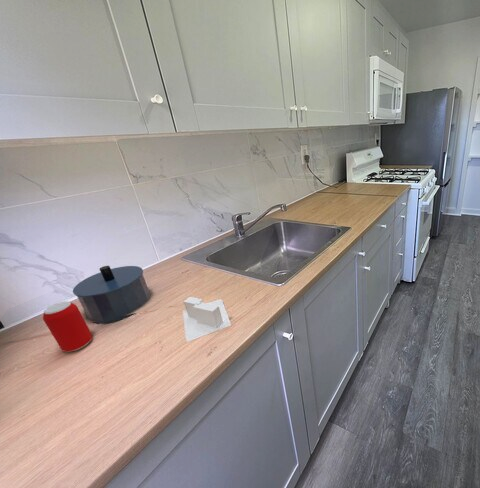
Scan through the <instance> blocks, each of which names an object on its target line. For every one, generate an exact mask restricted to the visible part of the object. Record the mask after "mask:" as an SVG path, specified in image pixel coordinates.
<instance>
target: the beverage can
mask: <svg viewBox="0 0 480 488" xmlns="http://www.w3.org/2000/svg"><path fill="white" fill-rule="evenodd" d="M42 320H43V322H44V323H45V325H46V327H47V328H48V330H49V332H50V333H51V335H52V337H53V338H54V340H55V341H56V343H57V345H58V347H59V349H60V350H61V351H62V352H68V353H69V352H74V351H78V350H80V349H82V348H84V347H86V346H87V345H88V344H89V343H90V342H91V341H92V339H93V334H92V332H91V330H90V328H89V326H88V325H87V323H86V321H85V319H84V317H83V315H82V313H81V311H80V309H79V307H78V305H76V304H75V303H73V302H71V301H61V302H57V303H53V304H52V305H50V306H48V307H46V309H45V310H44V311H43V315H42Z"/></svg>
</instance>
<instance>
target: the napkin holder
mask: <svg viewBox="0 0 480 488" xmlns="http://www.w3.org/2000/svg"><path fill="white" fill-rule="evenodd" d="M182 302H183V305H184V308H185V309H184V310H182V317H183V327H184V334H185V342H186V343H188V342H190V341H193V340H196V339H198V338H202V337H204V336H206V335H209V334H213V333H215V332H217V331H221V330H223V329H226V328H229V327H230V326H232V323H231V321H230V318H229V315H228V313H227V310H226V306H225V305H224V302H223V299H222V298H218V299H216V300H213V301H210V302H204V300H203V299H202V298H197V297H194V296H189V297H188V298H186V299H185V300H183V301H182Z"/></svg>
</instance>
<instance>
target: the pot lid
mask: <svg viewBox="0 0 480 488" xmlns="http://www.w3.org/2000/svg"><path fill="white" fill-rule="evenodd" d="M142 274H143V275H144V270H143V268H142V267H140V266H137V265H126V266H125V265H124V266H117V267H113V268H111V266H110V265H103V266H101V267H99V272H98V273H95V274H92V275H91V276H89V277H86V278H84V279H83V280H81V281H80V282H78V283H77V284H76V285H75V286H74V287H73V288H72V293H73V295H74V296H75V297H77V296H78V297H94V296H100V295H104V294H108V293H111V292H114V291H117V290H119V289H122V288H124V287H126V286H128V285H130V284H132V283H133V282H135V281H136V280H138V279H139V278H140V277H141V276H142ZM78 297H77V298H78Z"/></svg>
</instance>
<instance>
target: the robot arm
mask: <svg viewBox="0 0 480 488" xmlns="http://www.w3.org/2000/svg"><path fill="white" fill-rule="evenodd" d="M4 328H5V325H4V324H3V323H2V322H1V320H0V330H2V329H4Z"/></svg>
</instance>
